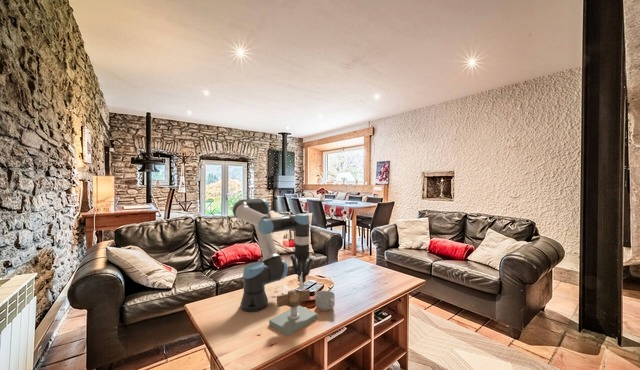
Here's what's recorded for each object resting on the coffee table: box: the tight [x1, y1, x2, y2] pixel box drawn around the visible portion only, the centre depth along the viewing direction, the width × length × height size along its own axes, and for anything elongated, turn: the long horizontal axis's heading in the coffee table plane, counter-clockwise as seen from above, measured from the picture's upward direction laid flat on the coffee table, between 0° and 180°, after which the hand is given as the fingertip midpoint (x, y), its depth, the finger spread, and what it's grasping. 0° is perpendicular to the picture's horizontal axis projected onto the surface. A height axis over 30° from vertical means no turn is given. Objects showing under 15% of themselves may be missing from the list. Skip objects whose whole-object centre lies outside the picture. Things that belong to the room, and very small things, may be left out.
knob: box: [276, 289, 311, 308], centre depth 132 cm, size 6×17×6 cm, turn 116°
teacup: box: [314, 290, 336, 312], centre depth 144 cm, size 14×11×8 cm
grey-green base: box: [268, 304, 319, 337], centre depth 132 cm, size 14×20×8 cm
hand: (301, 287), depth 138 cm, fingers closed
